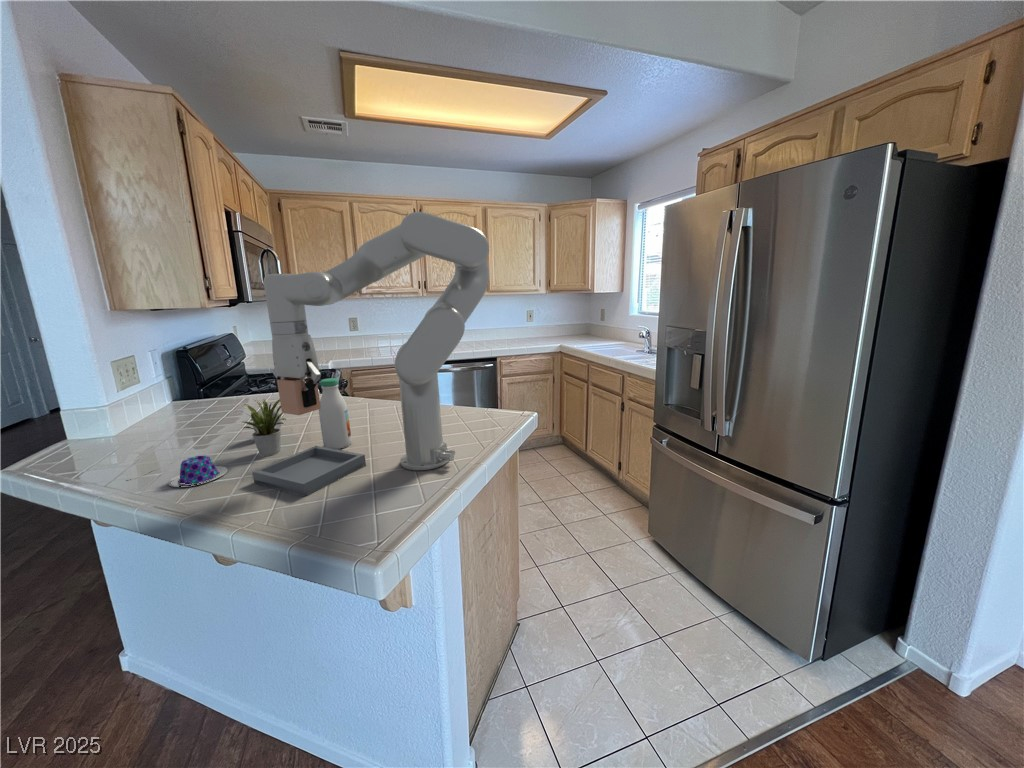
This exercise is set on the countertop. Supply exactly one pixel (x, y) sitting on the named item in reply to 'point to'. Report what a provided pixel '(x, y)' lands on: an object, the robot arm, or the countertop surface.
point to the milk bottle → (334, 416)
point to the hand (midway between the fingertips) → (300, 404)
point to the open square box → (294, 397)
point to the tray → (309, 470)
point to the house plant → (266, 429)
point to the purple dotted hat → (198, 471)
